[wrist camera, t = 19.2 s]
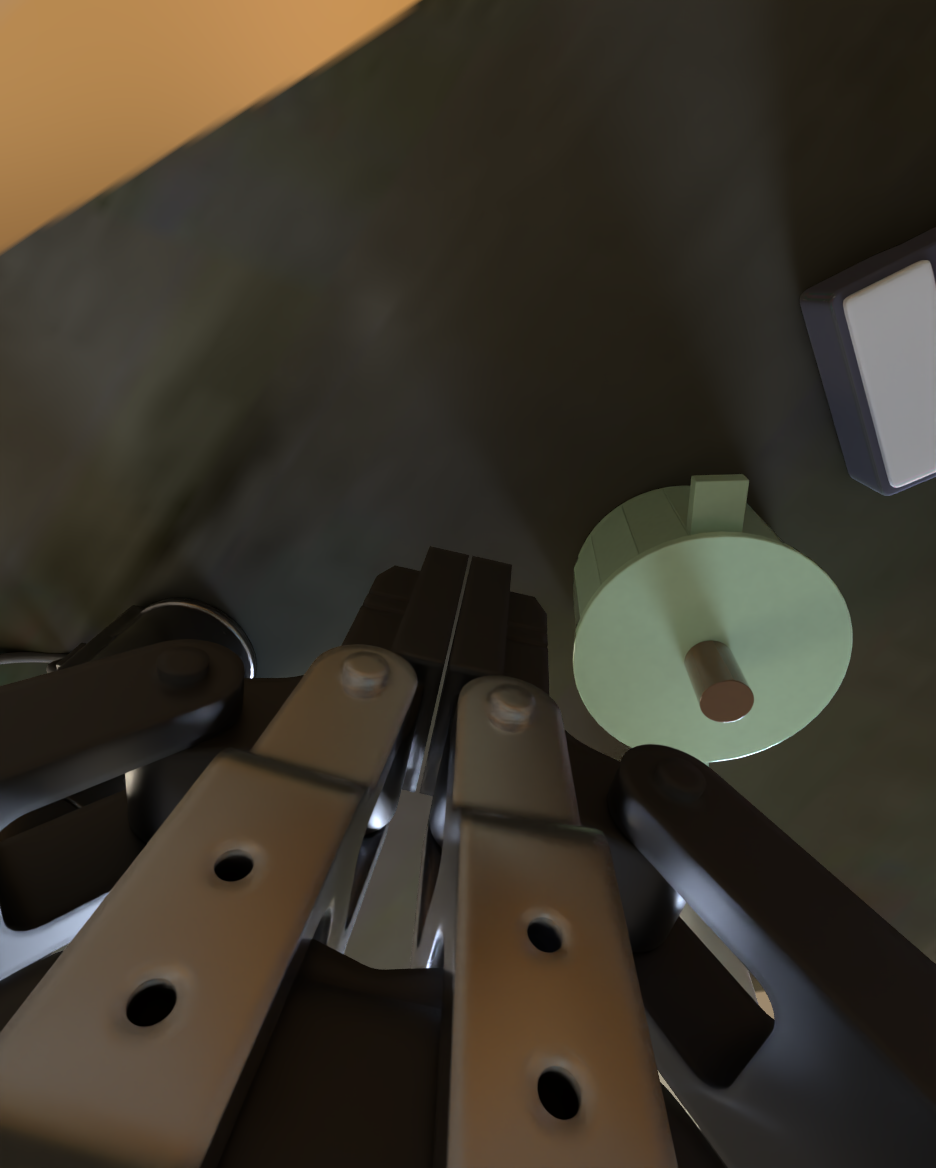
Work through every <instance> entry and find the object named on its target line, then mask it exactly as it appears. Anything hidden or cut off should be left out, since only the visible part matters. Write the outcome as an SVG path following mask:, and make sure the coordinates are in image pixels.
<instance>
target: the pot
mask: <svg viewBox="0 0 936 1168" xmlns="http://www.w3.org/2000/svg"><path fill="white" fill-rule="evenodd" d="M748 487H749V480H748V479H747V478H746V477H745V476H744V475H743V474H731V475H696V476H692V477H691V486H672V487H665V488H660V489H656V490H652V491H649V492H646V493H643V494H640V495H638V496H636V497H634V498H632V499H630V500H628V501H626V502H624V503H623V504H621V505H620V506H618V507H616V508H615V509H614V510H613V511H611V512H610V513H609V514H608V515H606V516H605V517H604V518H603V519H602V520H601V521H600V522H599V523H598V524H597V525H596V526H595V528H594V529H593V530H592V532H591V533H590V534H589V536H588V537H587V539H586V541H585V543H584V544H583V546H582V548H581V551H580V553H579V556H578V558H577V562H576V565H575V568H574V580H573V586H574V597H573V603H574V612H575V621H576V628H577V625H578V622H579V620H580V618H581V615H582V613H583V611H584V609H585V607H586V605H587V604H588V602H589V600H590V599H591V597H592V596H593V594H594V593H595V592H596V591H597V589H598V588H599V587H600V586H601V584H602V583H603V582H604V581H605V580H606V579H607V578H608V577H609V576H610V575H611V574H612V573H613V572H615V571H616V570H617V569H618V568H620V567H621V566H622V565H624V564H625V563H626V562H628V561H629V560H630V559H632V558H634V557H635V556H637V555H639V554H641V553H642V552H644V551H646V550H648V549H650V548H652V547H655V546H657V545H659V544H661V543H664V542H667V541H670V540H673V539H676V538H680V537H683V536H688V535H693V534H699V533H707V532H720V531H724V532H743V533H749V534H755V535H761V536H764V537H768V538H771V539H774V540H778V541H780V542H782V543H784V541H783V540H782V539H781V538H780V537H779V536H778V535H777V534H776V533H775V531H774V530H773V529H772V528H771V527H770V526H769V525H768V524H767V523H766V522H765V521H764V520H763V519H762V518H761V517H760V516H759V515H758V514H757V513H756V512H755V511H754V510H753V509H752V508H751V507H750V506H749V505H748V504H747V503H746V501H747V494H748ZM784 544H785V543H784ZM703 763H704V764H706V765H707V766H709V762H703Z"/></svg>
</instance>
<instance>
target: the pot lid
mask: <svg viewBox="0 0 936 1168" xmlns="http://www.w3.org/2000/svg"><path fill="white" fill-rule="evenodd" d="M851 650H852V624H851V618H850V613H849V611H848V608H847V605H846V602H845V600H844V598H843V596H842V594H841V592H840V591H839V589H838V587H837V585H836V584H835V583H834V582H833V581H832V579H831V578H830V577H829V576H828V575H827V573H826V572H825V571H824V570H823V569H822V568H821V567H820V566H819V565H817V564H816V563H815V562H814V561H813V560H812V559H811V558H809V557H808V556H806V555H805V554H803V553H802V552H800V551H798V550H797V549H795V548H793V547H791V546H789V545H787V544H784V543H782V542H780V541H778V540H774V539H771V538H768V537H764V536H761V535H755V534H749V533H743V532H724V531H720V532H707V533H699V534H693V535H688V536H683V537H680V538H676V539H673V540H670V541H667V542H664V543H661V544H659V545H657V546H655V547H652V548H650V549H648V550H646V551H644V552H642V553H641V554H639V555H637V556H635V557H634V558H632V559H630V560H629V561H628V562H626V563H625V564H624V565H622V566H621V567H620V568H618V569H617V570H616V571H615V572H613V573H612V574H611V575H610V576H609V577H608V578H607V579H606V580H605V581H604V582H603V583H602V584H601V586H600V587H599V588H598V589H597V591H596V592H595V593H594V594H593V596H592V597H591V599H590V600H589V602H588V604H587V605H586V607H585V609H584V611H583V613H582V615H581V618H580V620H579V622H578V625H577V628H576V632H575V636H574V641H573V652H572V658H573V672H574V677H575V682H576V686H577V689H578V691H579V694H580V697H581V699H582V701H583V703H584V704H585V706H586V708H587V709H588V711H589V713H590V714H591V715H592V716H593V718H594V719H595V720H596V721H597V723H598V724H599V725H601V726H602V727H603V728H604V729H605V730H606V731H607V732H608V733H609V734H611V735H612V736H613V737H615V738H616V739H618V740H619V741H620V742H622V743H624V744H626V745H628V746H629V747H631V748H634V747H636V746H640V745H645V744H656V745H663V746H668V747H672V748H675V749H678V750H680V751H683V752H685V753H687V754H689V755H691V756H693V757H695V758H697V759H698V760H700V761H701V762H717V761H725V760H731V759H735V758H740V757H744V756H747V755H750V754H754V753H757V752H760V751H762V750H765V749H767V748H769V747H771V746H774V745H776V744H778V743H780V742H782V741H783V740H785V739H787V738H789V737H790V736H792V735H793V734H795V733H796V732H798V731H799V730H800V729H802V728H803V727H805V726H806V725H807V724H808V723H809V722H810V721H812V720H813V719H814V718H815V717H816V716H817V715H818V714H819V713H820V712H821V711H822V710H823V709H824V707H825V706H826V705H827V704H828V703H829V701H830V700H831V699H832V697H833V696H834V694H835V693H836V691H837V690H838V688H839V686H840V684H841V682H842V680H843V678H844V676H845V673H846V670H847V667H848V664H849V661H850V656H851Z"/></svg>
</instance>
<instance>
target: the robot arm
mask: <svg viewBox="0 0 936 1168" xmlns="http://www.w3.org/2000/svg"><path fill="white" fill-rule="evenodd" d="M468 558H469V555H466V554H462V553H458V552H453V551H449V550H444V549H440V548H436V547H431V546H430V547H429V550H428V553H427V555H426V558H425V561H424V563H423V566H422V569H421V571H417V570H413V569H408V568H404V567H399V566H394V567H392V568H390V569H388V570H386V571H385V572H383V573H381V574H379V575H378V576H377V577H376V579H375V581H374V583H373V585H372V587H371V589H370V591H369V594H368V595H367V597H366V598H365V600H364V602H363V606H361V608H360V610H359V612H358V614H357V616H356V618H355V620H354V622H353V624H352V626H351V628H350V630H349V632H348V634H347V636H346V638H345V640H344V642H343V643H342V645H341V646H339V647H336V648H332V649H330V650H328V651H326V652H324V653H322V654H321V655H320V656H318V657H317V658H316V660H315V661H314V662H313V663H312V665H311V666H310V668H309V669H308V670H307V672H306V673H305V675H302V676H297V677H290V678H255V677H256V671H257V662H256V656H255V652H254V649H253V647H252V644H251V642H250V641H249V639H248V637H247V636H246V634H245V633H244V631H243V630H242V629H241V628H240V627H239V626H238V624H237V623H236V622H234V621H233V620H232V619H231V618H230V617H229V616H227V615H226V614H225V613H223V612H221V611H220V610H218V609H216V608H214V607H213V606H210V605H208V604H206V603H203V602H200V601H196V600H192V599H185V598H170V599H164V600H160V601H157V602H155V603H152V604H151V605H149V606H147V607H139V606H135V605H133V606H131V607H130V608H129V609H128V610H126V611H125V612H124V613H123V614H122V615H120V616H119V617H118V618H117V619H116V620H115V621H113V622H112V623H111V624H110V625H109V626H107V627H106V628H105V629H104V630H103V631H101V632H100V633H99V634H98V635H97V636H96V637H94V638H93V639H92V640H91V641H90V642H88V643H87V644H86V643H81V644H80V645H79V646H78V647H76V648H75V649H74V650H73V651H72V652H70V653H69V654H68V655H67V654H44V653H36V652H13V653H3V654H0V664H6V663H17V662H50V663H49V664H48V665H47V669H46V670H47V672H48V673H47V674H43V675H40V676H36V677H33V678H29V679H25V680H22V681H18V682H14V683H11V684H7V685H3V686H0V1168H726V1167H725V1166H724V1164H723V1163H722V1161H721V1160H720V1158H719V1157H718V1156H717V1154H716V1153H715V1151H714V1150H713V1148H714V1149H715V1150H716V1152H717V1153H718V1155H719V1156H720V1157H721V1159H722V1160H723V1162H724V1163H725V1164H726V1166H727V1167H728V1168H936V964H935V963H934V962H933V961H931V960H930V959H929V958H928V957H927V956H926V955H924V954H923V953H922V952H921V951H920V950H919V949H918V948H916V947H915V946H914V945H913V944H912V943H911V942H910V941H908V940H907V939H906V938H905V937H904V936H903V935H902V934H900V933H899V932H898V931H897V930H896V929H895V928H893V927H892V926H891V925H890V924H889V923H888V922H887V921H885V920H884V919H883V918H882V917H881V916H880V915H879V914H877V913H876V912H875V911H874V910H873V909H872V908H871V907H869V906H868V905H867V904H866V903H865V902H864V901H862V900H861V899H860V898H859V897H858V896H857V895H856V894H854V893H853V892H852V891H851V890H850V889H849V888H848V887H846V886H845V885H844V884H843V883H842V882H841V881H840V880H838V879H837V878H836V877H835V876H834V875H833V874H831V873H830V872H829V871H828V870H827V869H826V868H825V867H823V866H822V865H821V864H820V863H819V862H818V861H817V860H815V859H814V858H813V857H812V856H811V855H810V854H809V853H807V852H806V851H805V850H804V849H803V848H802V847H800V846H799V845H798V844H797V843H796V842H795V841H794V840H792V839H791V838H790V837H789V836H788V835H787V834H786V833H784V832H783V831H782V830H781V829H780V828H779V827H777V826H776V825H775V824H774V823H773V822H772V821H771V820H769V819H768V818H767V817H766V816H765V815H764V814H763V813H761V812H760V811H759V810H758V809H757V808H756V807H755V806H753V805H752V804H751V803H750V802H749V801H748V800H746V799H745V798H744V797H743V796H742V795H741V794H740V793H738V792H737V791H736V790H735V789H734V788H733V787H732V786H730V785H729V784H728V783H727V782H726V781H725V780H724V779H722V778H721V777H720V776H719V775H718V774H717V773H715V772H714V771H713V770H712V769H711V768H709V767H708V766H707V765H706V764H704V763H703V762H701V761H700V760H698V759H697V758H695V757H693V756H691V755H689V754H687V753H685V752H683V751H680V750H678V749H675V748H672V747H668V746H663V745H656V744H645V745H640V746H636V747H634V748H632V749H630V750H628V751H627V752H626V753H625V754H624V756H623V758H622V760H621V762H620V761H617V760H615V759H613V758H611V757H609V756H607V755H605V754H602V753H600V752H598V751H596V750H594V749H592V748H590V747H588V746H586V745H584V744H583V743H581V742H580V741H578V740H576V739H575V738H574V737H573V736H571V735H570V734H569V733H568V732H567V731H566V730H565V729H564V724H563V718H562V714H561V711H560V709H559V707H558V705H557V704H556V703H555V701H554V700H553V699H552V698H551V697H550V696H549V672H548V648H547V645H548V641H547V614H546V612H545V611H544V610H543V608H542V607H541V605H540V604H539V603H538V601H537V600H536V598H535V597H532V596H528V595H523V594H519V593H514V592H510V582H511V569H512V565H511V564H506V563H502V562H498V561H493V560H489V559H484V558H480V557H476V556H473V557H472V561H471V565H470V569H469V574H468V578H467V582H466V587H465V591H464V595H463V600H462V604H461V609H460V613H459V617H458V622H457V626H456V630H455V635H454V639H453V644H452V648H451V652H450V657H449V661H448V666H447V670H446V675H445V680H444V684H443V689H442V693H441V698H440V702H439V707H438V711H437V716H436V720H435V725H434V730H433V734H432V739H431V743H430V748H429V752H428V757H427V761H426V766H425V771H424V775H423V780H422V784H421V789H420V793H421V794H426V795H430V796H433V800H432V805H431V810H430V815H429V820H428V824H427V828H426V832H425V836H424V840H423V845H422V855H421V865H420V875H419V884H418V894H417V904H416V913H415V923H414V933H413V943H412V952H411V962H410V969H392V970H379V969H374V968H370V967H368V966H365V965H363V964H361V963H359V962H357V961H355V960H353V959H352V958H350V957H348V956H346V955H344V951H345V948H346V945H347V942H348V939H349V937H350V934H351V931H352V928H353V926H354V923H355V920H356V917H357V915H358V912H359V909H360V906H361V904H362V901H363V898H364V895H365V892H366V890H367V887H368V884H369V881H370V879H371V876H372V873H373V870H374V868H375V865H376V862H377V859H378V856H379V854H380V851H381V848H382V845H383V843H384V840H385V837H386V833H387V829H388V824H389V821H390V820H391V818H392V817H393V815H394V814H395V811H396V808H397V805H398V801H399V797H400V793H401V789H402V790H407V791H411V792H415V790H416V786H417V782H418V777H419V773H420V768H421V764H422V760H423V755H424V751H425V747H426V742H427V738H428V733H429V729H430V725H431V720H432V716H433V712H434V707H435V703H436V698H437V694H438V690H439V685H440V681H441V677H442V672H443V668H444V664H445V659H446V655H447V650H448V646H449V642H450V637H451V633H452V628H453V624H454V620H455V615H456V611H457V606H458V602H459V597H460V593H461V589H462V584H463V580H464V575H465V571H466V567H467V562H468ZM686 903H688V904H689V906H690V907H691V908H692V909H693V910H694V911H695V912H696V913H697V914H698V915H699V916H700V918H701V919H702V920H703V921H704V922H705V923H706V924H707V925H708V926H709V927H710V929H711V930H712V931H713V932H714V933H715V934H716V935H717V936H718V937H719V938H720V939H721V941H722V942H723V943H724V944H725V945H726V946H727V947H728V948H729V949H730V950H731V951H732V953H733V954H734V955H735V956H736V957H737V958H738V959H739V960H740V961H741V962H742V963H743V965H744V966H745V967H746V968H747V969H748V970H749V971H750V972H751V973H752V974H753V976H754V977H755V978H756V979H757V980H758V981H759V983H760V984H761V986H762V987H763V988H764V990H765V992H766V994H767V995H768V997H769V1000H770V1002H771V1004H772V1008H773V1011H774V1018H775V1020H774V1019H773V1018H771V1017H770V1016H769V1015H768V1014H766V1013H765V1011H763V1010H762V1008H761V1007H760V1006H759V1005H758V1004H757V1003H756V1002H755V1001H754V999H753V998H752V997H751V996H750V995H749V994H748V993H747V992H746V990H745V989H744V988H743V987H742V986H741V985H740V984H739V983H738V981H737V980H736V979H735V978H734V977H733V976H732V975H731V974H730V972H729V971H728V970H727V969H726V968H725V967H724V966H723V965H722V963H721V962H720V961H719V960H718V959H717V958H716V957H715V956H714V954H713V953H712V952H711V951H710V950H709V949H708V948H707V947H706V945H705V944H704V943H703V942H702V941H701V940H700V939H699V938H698V936H697V935H696V934H695V933H694V932H693V931H692V930H691V929H690V927H689V926H688V925H687V924H686V923H685V922H684V921H683V920H682V918H681V917H680V916H679V915H680V913H681V911H682V910H683V908H684V906H685V904H686ZM68 943H69V945H68V946H67V947H66V949H65V950H64V951H61V952H58V953H55V954H53V955H51V954H52V952H53V951H55V950H57V949H59V948H61V947H63V946H65V945H66V944H68ZM50 955H51V956H50ZM658 1071H659V1072H660V1074H661V1075H662V1077H663V1078H664V1080H665V1081H666V1082H667V1084H668V1085H669V1086H670V1088H671V1089H672V1091H673V1092H674V1093H675V1095H676V1096H677V1098H678V1099H679V1100H680V1102H681V1103H682V1105H683V1106H684V1107H685V1109H686V1110H687V1112H688V1113H689V1114H690V1116H691V1117H692V1118H693V1120H694V1121H695V1123H696V1124H697V1125H698V1127H699V1128H700V1129H699V1128H698V1127H697V1125H696V1124H695V1123H694V1121H693V1120H692V1118H691V1117H690V1116H689V1114H688V1113H687V1112H686V1111H685V1110H684V1109H683V1107H682V1106H681V1105H680V1104H679V1102H678V1101H677V1100H676V1099H675V1098H674V1097H673V1095H672V1094H671V1093H670V1092H669V1091H668V1090H667V1088H666V1087H665V1086H664V1085H663V1084H662V1083H661V1082H660V1080H659V1075H658ZM700 1130H701V1131H702V1132H703V1134H704V1135H705V1136H704V1135H703V1134H702V1132H701V1131H700ZM705 1137H706V1138H707V1139H708V1141H709V1142H710V1143H711V1145H712V1146H713V1148H712V1147H711V1145H710V1144H709V1142H708V1141H707V1139H706V1138H705Z"/></svg>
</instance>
